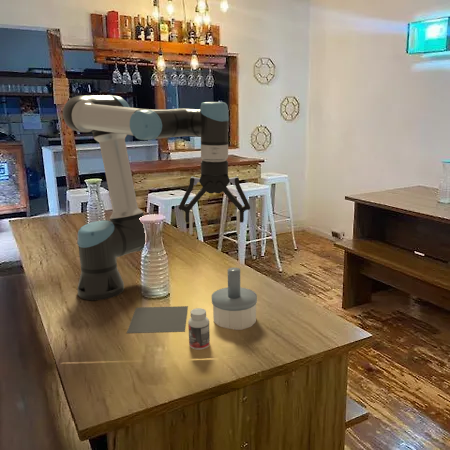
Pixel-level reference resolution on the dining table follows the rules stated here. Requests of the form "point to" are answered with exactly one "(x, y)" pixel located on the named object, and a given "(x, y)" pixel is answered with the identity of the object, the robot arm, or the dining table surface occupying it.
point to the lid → (234, 294)
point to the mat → (158, 319)
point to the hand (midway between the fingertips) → (214, 233)
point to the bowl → (234, 318)
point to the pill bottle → (198, 329)
